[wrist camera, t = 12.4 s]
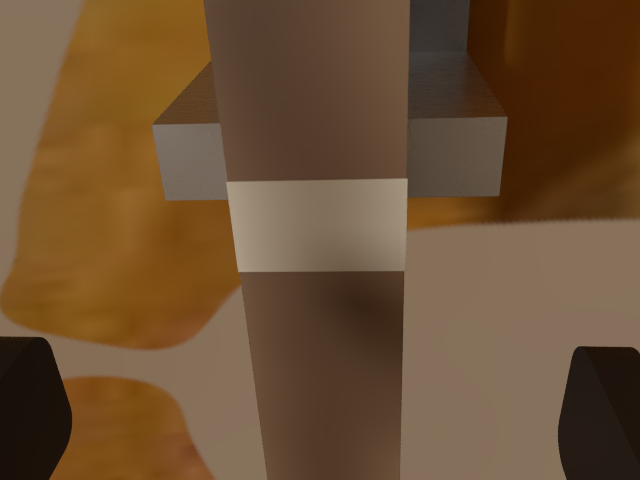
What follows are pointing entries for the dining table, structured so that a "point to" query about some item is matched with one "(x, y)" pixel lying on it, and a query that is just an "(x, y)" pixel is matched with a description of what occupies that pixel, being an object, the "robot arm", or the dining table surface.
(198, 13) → the dining table surface
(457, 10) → the ridge stand
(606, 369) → the robot arm
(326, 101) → the batten
